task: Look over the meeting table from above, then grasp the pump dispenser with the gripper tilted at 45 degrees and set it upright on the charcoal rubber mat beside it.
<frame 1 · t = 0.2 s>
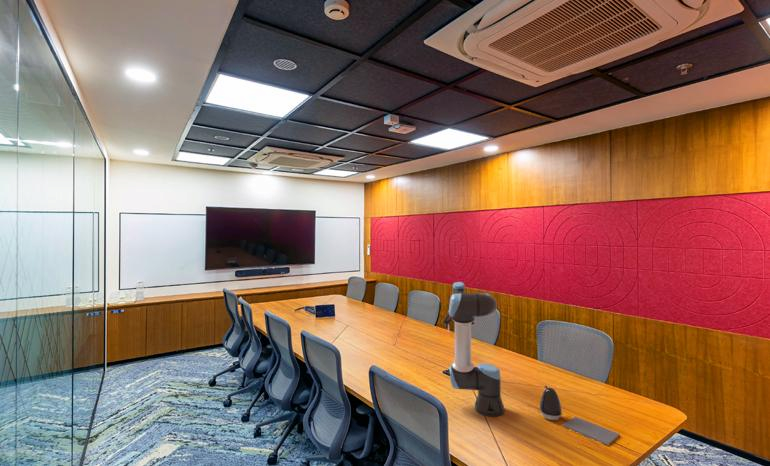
hand: (458, 332, 240), 28 cm above the table, tool tilted 20°, fingers open, 13 cm apart
pump dispenser: (550, 418, 180), on the table
mat: (590, 431, 167), on the table
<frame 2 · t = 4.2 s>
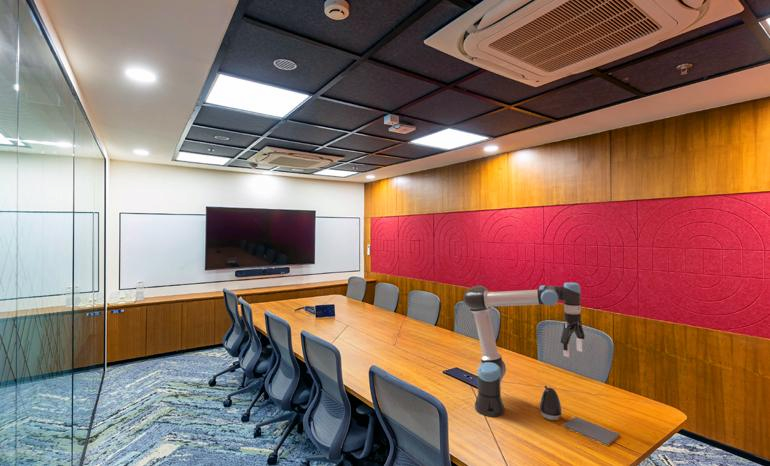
hand: (573, 353, 183), 32 cm above the table, tool pointing down, fingers open, 13 cm apart
nothing on the table moved.
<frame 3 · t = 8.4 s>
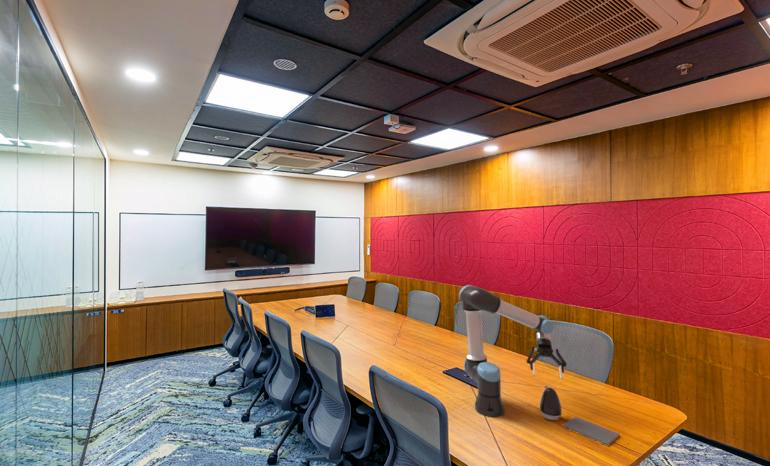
hand: (547, 377, 190), 17 cm above the table, tool tilted 45°, fingers open, 13 cm apart
nothing on the table moved.
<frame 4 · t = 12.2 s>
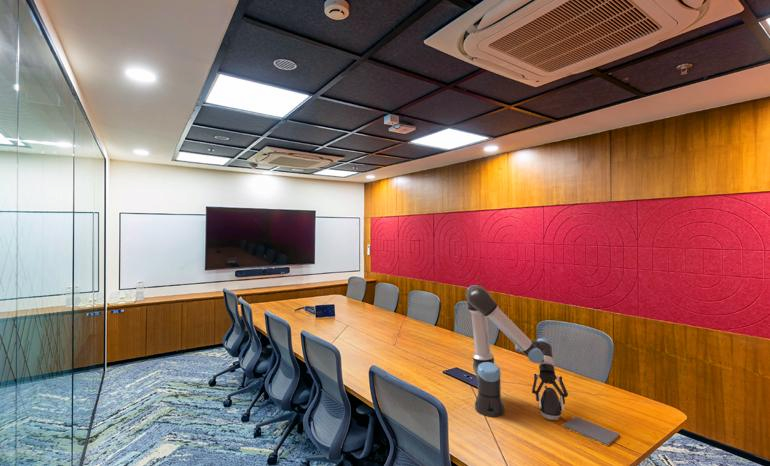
hand: (551, 408, 177), 6 cm above the table, tool tilted 45°, fingers closed on pump dispenser, 10 cm apart
pump dispenser: (550, 418, 180), on the table, touching gripper
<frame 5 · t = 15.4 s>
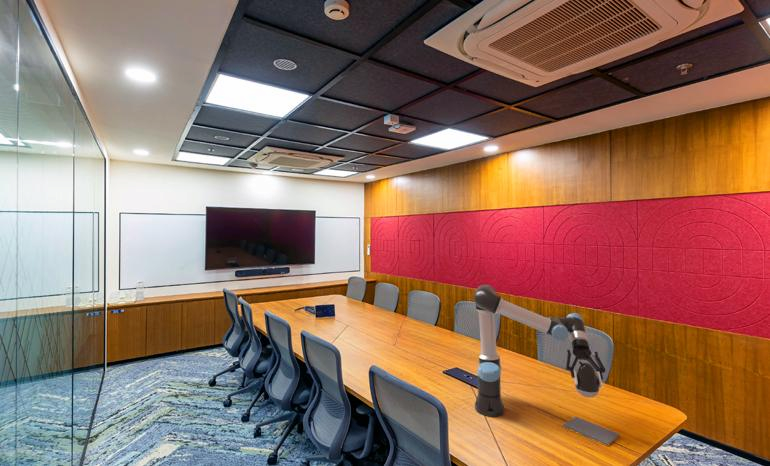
hand: (588, 385, 166), 22 cm above the table, tool tilted 45°, fingers closed on pump dispenser, 10 cm apart
pump dispenser: (587, 395, 169), point 16 cm above the table, touching gripper
when the fingers open (8 cm above the table, at t = 18.7 s): pump dispenser drops 1 cm, resting on mat.
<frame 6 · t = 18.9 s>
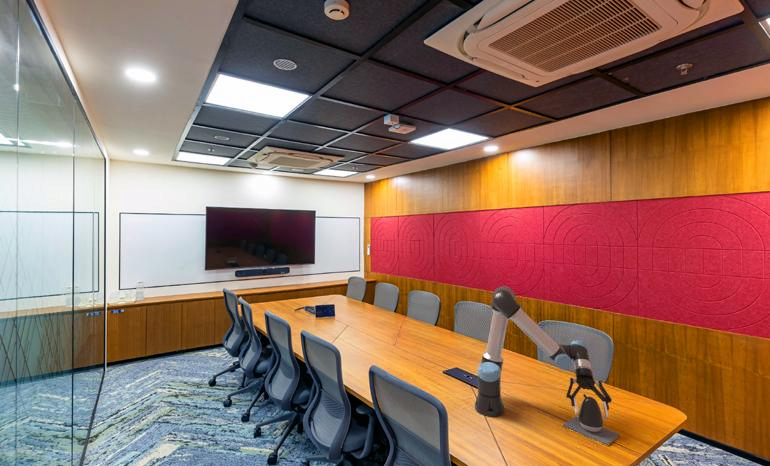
hand: (591, 415, 165), 9 cm above the table, tool tilted 45°, fingers open, 12 cm apart
pump dispenser: (590, 429, 167), point 1 cm above the table, touching mat
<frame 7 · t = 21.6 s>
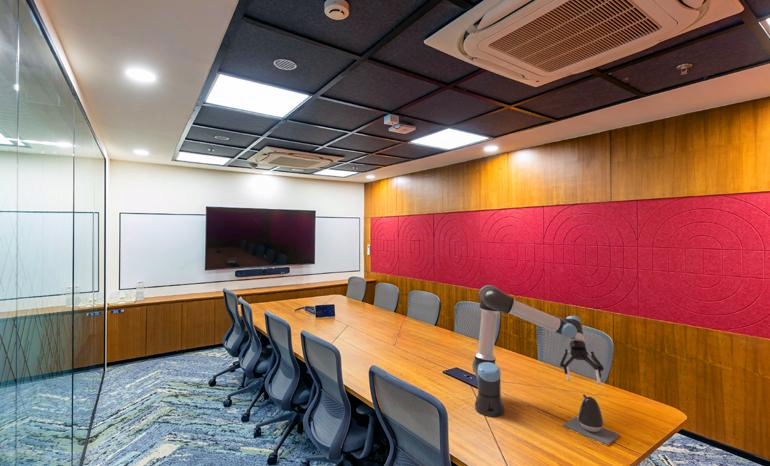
hand: (583, 381, 178), 19 cm above the table, tool tilted 45°, fingers open, 13 cm apart
nothing on the table moved.
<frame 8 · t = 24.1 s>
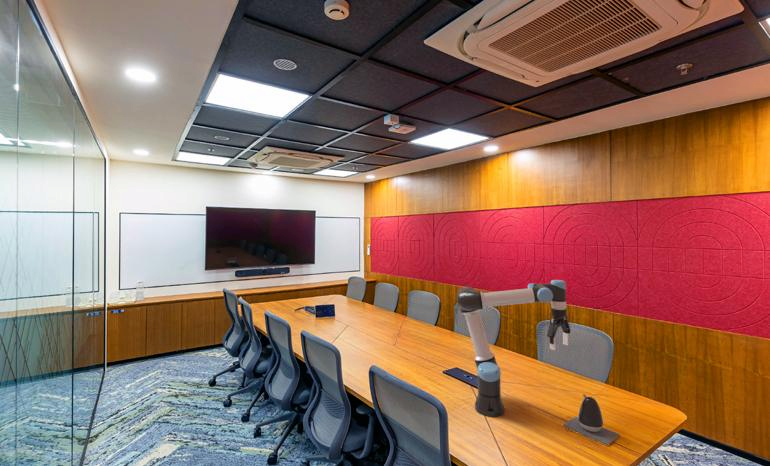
hand: (559, 347, 194), 32 cm above the table, tool pointing down, fingers open, 13 cm apart
nothing on the table moved.
at the end: pump dispenser inside the target area on the mat (0.1 cm from its centre), point 0.8 cm above the mat's base; pump dispenser tilted 0°; the gripper is holding nothing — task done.
